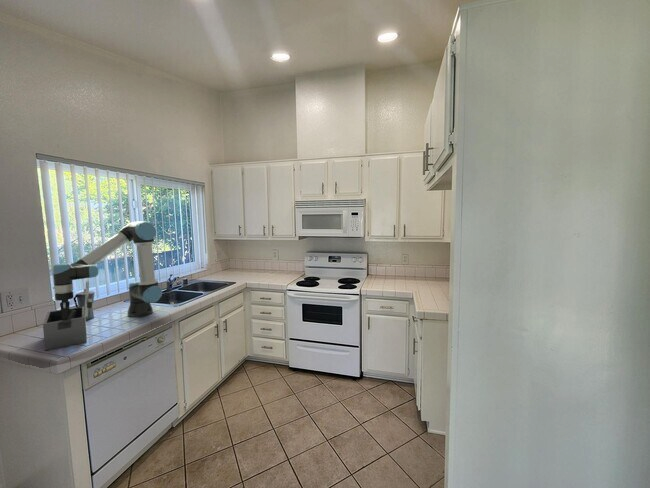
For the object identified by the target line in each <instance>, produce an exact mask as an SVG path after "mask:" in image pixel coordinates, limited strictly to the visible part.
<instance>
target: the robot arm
mask: <svg viewBox="0 0 650 488" xmlns="http://www.w3.org/2000/svg"><path fill="white" fill-rule="evenodd" d="M156 235H157V229H156V226H155V225H153V224H152V223H150V222H148V221H131V222H130V223H128V224H126V225H125V226H123V227H122V228H121V229H119V230H118V231H116V234H115V235H113V236H112V237H110V238H109V239H108V240H106V241H105V242H103V243H102V244H100V245H98V246H97V247H96V248H95V249H93V250H92V251H90V252H89V253H87V254H86V255H84V256H83V257H82V258H80V259H78V260H77V261H76V262H73V263H72V262H71V263H57V264H54V265H53V266H52V267H53V268H52V271H53V272H52V275H53V285H54V286H53V287H52V289H53V290H54V298H55V301H61V302H60V303H59V307H60V310H61V311H62V320H68V317H69V315H70V313H69V309H71V307H70V305H71V302H70V301H69V300H71V299H73V298H74V291H73V290H74V286H73V285H74V284H73V281H75V280H84V279H91V278H96V277H97V276H98V275H99V267H98V266H97V264H99V262H101V261H102V260H105V258H107V257H109V256H110V255H111V254H112V253H114V252H115V251H117V250H118V249H119V248H121V247H122V246H123V245H125V244H129V243H131V242H132V241H133V242H132V243H133V244H134V245H135V246H136V253H137V262H138V271H139V280H138V281H134V282H133V281H131V282H129V284H128V293H129V306H128V310H127V316H128V317H130V318H131V317H133V318H137V317H143V316H149V315H151V314H152V313H153V312H154V310H153V306H152V303H153V304H154V303H156V302H158V301H159V300H160V299H161V298H162V295H163V290H162V288H161V287H160V286H159V281H158V280H157V279H156V278H155V277H156V276H155V275H156V274H155V266H154V255H153V243H154V242H155V239H154V238H155V237H156Z"/></svg>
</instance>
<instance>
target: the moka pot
mask: <svg viewBox="0 0 650 488" xmlns="http://www.w3.org/2000/svg"><path fill="white" fill-rule="evenodd" d="M85 289H86V288H84V290H83V291H81V292H78V293H76V294H75V295H74V296H73V298H72V299H73V302H74V304H75V308H78V307H84V306H85ZM88 299H92V308H88V317H86V321H88V320H92V319H94V318H95V314H94V309H93V304H94V299H95V291H94V290H93V291H92V290H91V291H90V290H89V298H88Z"/></svg>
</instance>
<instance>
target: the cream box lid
mask: <svg viewBox="0 0 650 488" xmlns="http://www.w3.org/2000/svg"><path fill="white" fill-rule="evenodd" d="M89 282H90V281H89V278H85V288H84V289H85V317H88V308H92V307H93V306H92V299H88V298H89V292H90V283H89Z"/></svg>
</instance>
